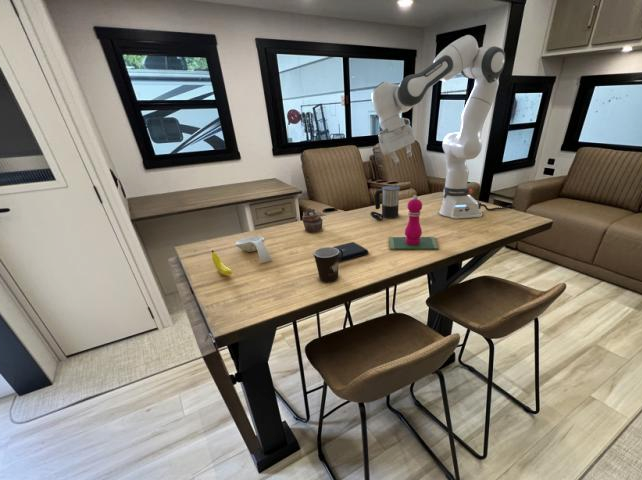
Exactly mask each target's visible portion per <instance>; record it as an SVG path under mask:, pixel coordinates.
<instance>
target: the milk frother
mask: <svg viewBox="0 0 642 480" xmlns="http://www.w3.org/2000/svg"><path fill="white" fill-rule="evenodd" d="M400 189H401V187H400V186H397V185H385V186H382V187H381V188H379V189H377V190H375V193H374V207H375V210H380V209H381V213H380V212H377V211H370V216H371V218H372V219H374V220H376V221H383V220H384V218H385V219H395V218H398V217H399V215H400V214H399V203H400ZM381 194H382V195H381Z"/></svg>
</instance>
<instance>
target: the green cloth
mask: <svg viewBox="0 0 642 480" xmlns="http://www.w3.org/2000/svg"><path fill="white" fill-rule="evenodd" d="M419 238H420V243H419V244H417V245H409V244H406V236H390V237H389V250H391V251H393V250H394V251H397V250H398V251H401V250H402V251H404V250H406V251H414V250H415V251H416V250H417V251H420V250H423V251H425V250H426V251H427V250H428V251H429V250H430V251H431V250H432V251H433V250H434V251H435V250H436V251H437V250H439V246H438V243H437V240H436V238H435V236H420V237H419Z"/></svg>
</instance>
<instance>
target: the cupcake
mask: <svg viewBox="0 0 642 480" xmlns="http://www.w3.org/2000/svg"><path fill="white" fill-rule="evenodd" d="M302 213H303V214H302V219H301V221H302V223H303V226H304V229H305V232H306V233H309V234H312V233H313V234H315V233H319V232H321V231H322V230H323V222H324V219H323V218H322V216H321V214H320V213H318V212H317V210H315V209H311V208H308V210H304V211H303V212H302Z"/></svg>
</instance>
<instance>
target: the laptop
mask: <svg viewBox="0 0 642 480" xmlns="http://www.w3.org/2000/svg"><path fill="white" fill-rule="evenodd" d="M332 248H336V249H341V250H342V251H343V256H342V258H341V260H340V262H344V261H348V260H351V259H355V258H358V257H362V256H365V255H368V254H370V252H369V250H368V249H367V248H365V247H364V246H361V245H360V244H358V243H356V242H354V241H351V242H347V243H343V244H340V245H335V246H332ZM340 257H341V251H339V259H340ZM340 262H339V263H340Z"/></svg>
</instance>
